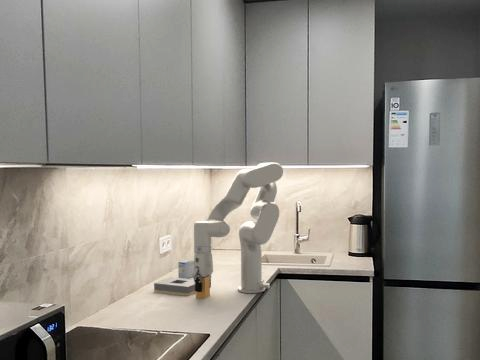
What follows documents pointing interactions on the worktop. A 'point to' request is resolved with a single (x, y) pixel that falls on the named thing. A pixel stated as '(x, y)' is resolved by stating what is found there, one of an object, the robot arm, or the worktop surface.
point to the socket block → (175, 286)
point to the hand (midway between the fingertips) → (203, 289)
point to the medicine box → (185, 269)
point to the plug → (204, 287)
